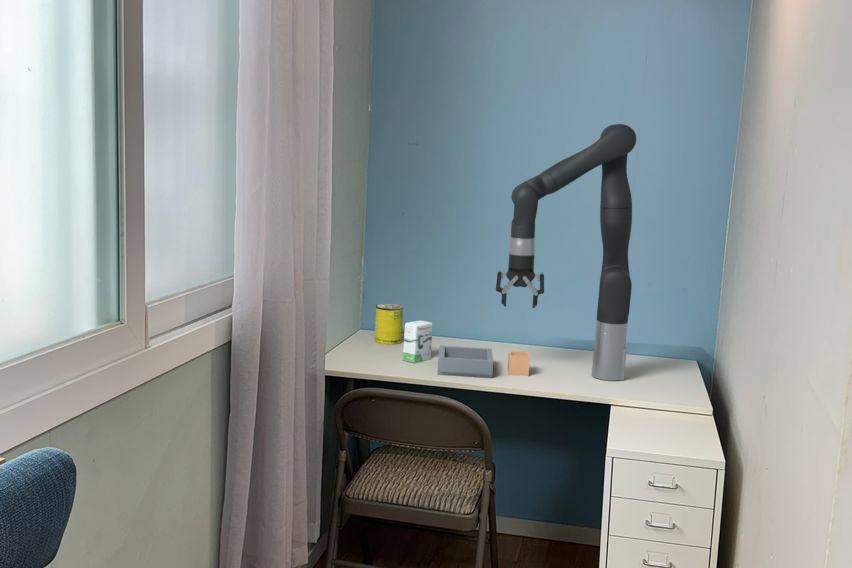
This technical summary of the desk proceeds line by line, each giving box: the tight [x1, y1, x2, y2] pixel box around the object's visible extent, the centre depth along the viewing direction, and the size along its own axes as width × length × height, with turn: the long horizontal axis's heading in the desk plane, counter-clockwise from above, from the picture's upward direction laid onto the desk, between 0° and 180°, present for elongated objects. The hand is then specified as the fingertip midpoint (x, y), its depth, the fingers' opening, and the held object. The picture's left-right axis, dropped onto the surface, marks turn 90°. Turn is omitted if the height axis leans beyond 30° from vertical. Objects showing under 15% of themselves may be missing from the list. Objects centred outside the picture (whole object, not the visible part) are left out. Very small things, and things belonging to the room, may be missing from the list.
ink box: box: [402, 319, 434, 364], centre depth 278 cm, size 9×5×12 cm, turn 142°
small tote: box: [507, 350, 531, 377], centre depth 269 cm, size 6×6×6 cm
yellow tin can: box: [374, 303, 404, 346], centre depth 300 cm, size 9×9×12 cm
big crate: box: [437, 345, 494, 379], centre depth 270 cm, size 16×16×5 cm
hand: (519, 306), depth 266 cm, fingers open, 8 cm apart
